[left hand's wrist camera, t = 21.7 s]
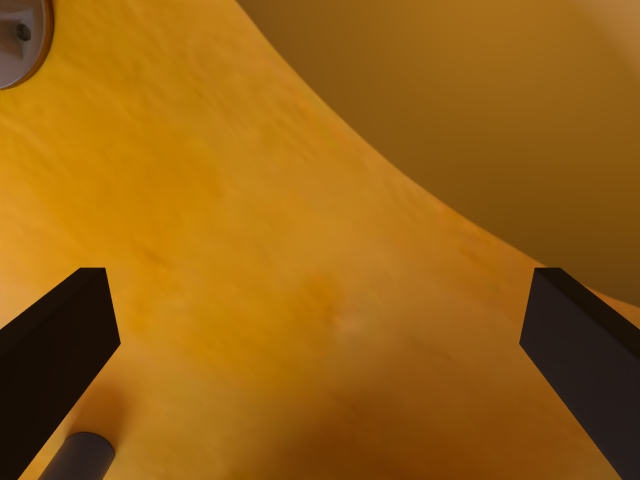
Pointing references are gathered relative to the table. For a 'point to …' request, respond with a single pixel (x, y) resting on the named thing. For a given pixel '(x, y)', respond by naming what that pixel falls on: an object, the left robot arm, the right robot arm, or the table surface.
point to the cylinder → (80, 459)
